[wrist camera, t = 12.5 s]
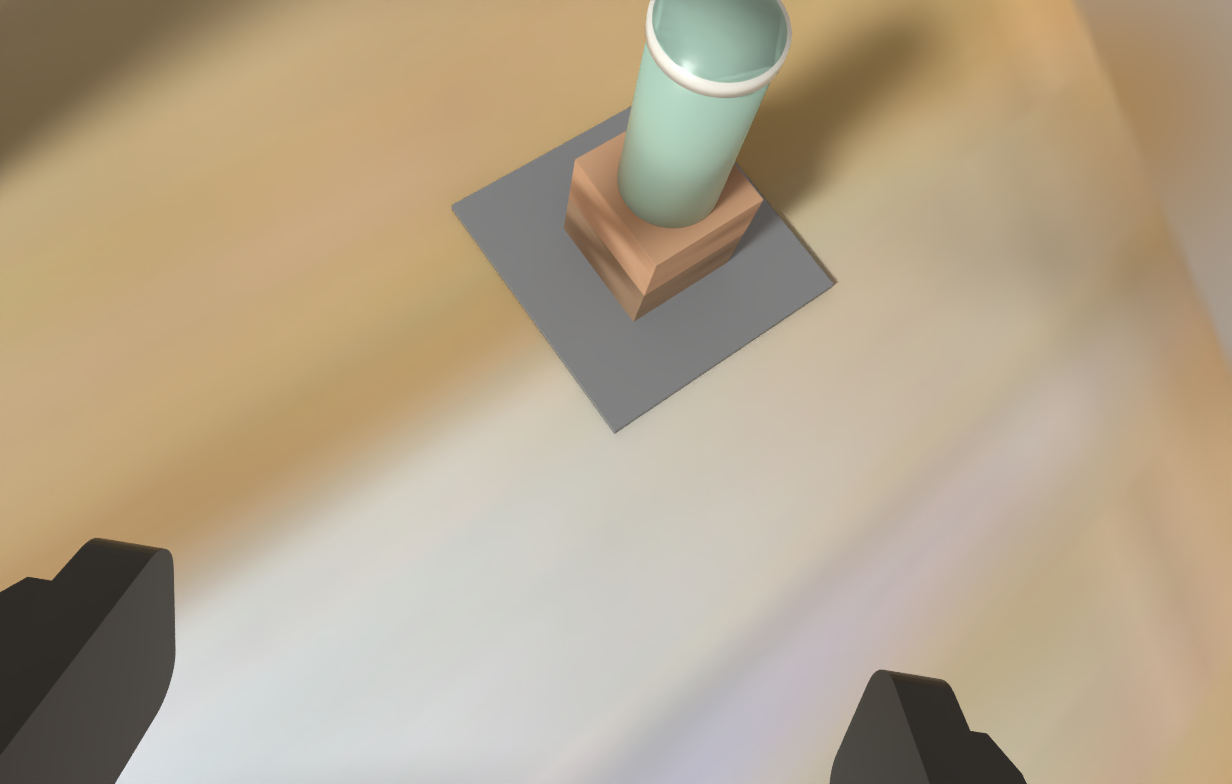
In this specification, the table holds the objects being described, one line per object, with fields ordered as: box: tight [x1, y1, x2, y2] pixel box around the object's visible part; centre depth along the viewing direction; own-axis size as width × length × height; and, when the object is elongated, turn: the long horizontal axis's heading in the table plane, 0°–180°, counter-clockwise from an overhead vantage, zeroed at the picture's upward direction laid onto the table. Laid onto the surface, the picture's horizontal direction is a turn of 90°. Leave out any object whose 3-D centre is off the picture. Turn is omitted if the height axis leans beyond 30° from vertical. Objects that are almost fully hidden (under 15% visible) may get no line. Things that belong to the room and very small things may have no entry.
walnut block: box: [564, 197, 743, 322], centre depth 44 cm, size 6×6×3 cm
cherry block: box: [569, 131, 763, 296], centre depth 41 cm, size 6×6×3 cm
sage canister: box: [617, 0, 792, 228], centre depth 35 cm, size 5×5×10 cm
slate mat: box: [452, 106, 834, 434], centre depth 46 cm, size 14×14×1 cm
